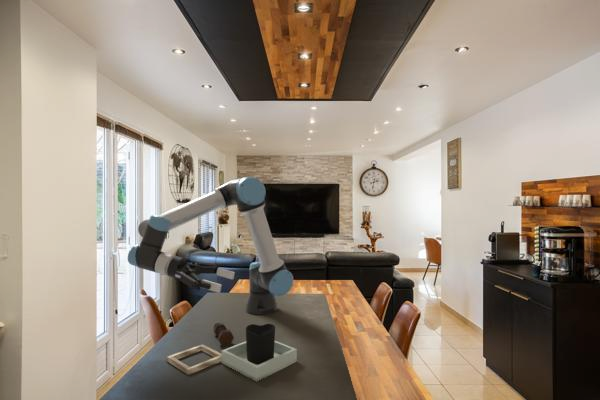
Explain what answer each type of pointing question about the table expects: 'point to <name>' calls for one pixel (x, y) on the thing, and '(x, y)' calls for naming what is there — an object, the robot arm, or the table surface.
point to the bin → (238, 361)
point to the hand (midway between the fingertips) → (227, 282)
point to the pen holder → (260, 343)
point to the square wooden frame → (189, 370)
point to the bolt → (223, 334)
